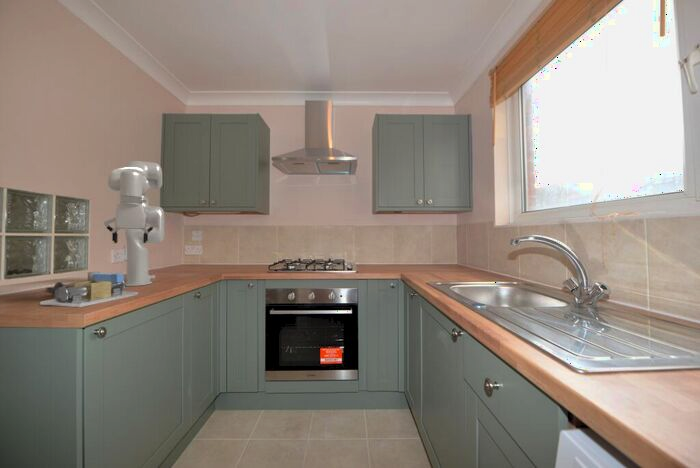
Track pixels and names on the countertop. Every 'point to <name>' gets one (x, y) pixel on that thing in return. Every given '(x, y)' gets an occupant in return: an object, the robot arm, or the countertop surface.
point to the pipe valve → (88, 293)
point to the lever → (105, 277)
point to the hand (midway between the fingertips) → (130, 242)
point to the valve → (59, 286)
